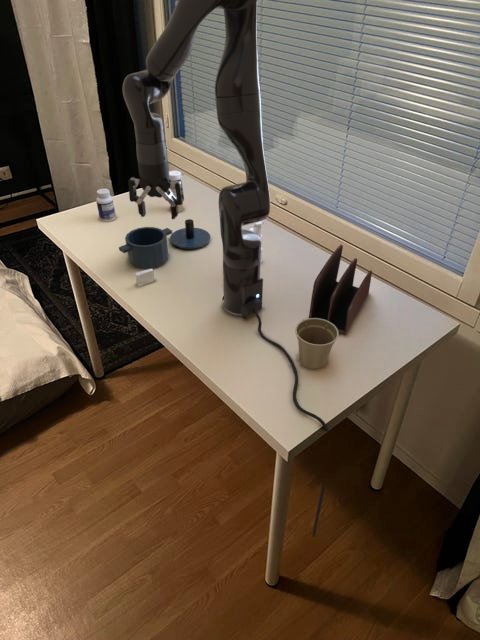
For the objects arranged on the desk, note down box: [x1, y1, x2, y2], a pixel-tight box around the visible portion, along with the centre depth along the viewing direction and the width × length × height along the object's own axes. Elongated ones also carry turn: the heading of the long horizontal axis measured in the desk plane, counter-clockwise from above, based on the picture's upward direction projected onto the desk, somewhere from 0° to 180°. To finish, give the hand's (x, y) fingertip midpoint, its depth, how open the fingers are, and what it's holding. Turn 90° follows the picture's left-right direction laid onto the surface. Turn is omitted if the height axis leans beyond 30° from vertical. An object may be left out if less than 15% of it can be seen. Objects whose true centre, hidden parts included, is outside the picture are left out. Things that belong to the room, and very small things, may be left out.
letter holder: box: [308, 244, 373, 336], centre depth 124 cm, size 10×20×14 cm, turn 152°
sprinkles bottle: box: [169, 170, 185, 213], centre depth 169 cm, size 5×5×14 cm
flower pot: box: [294, 317, 340, 370], centre depth 111 cm, size 9×9×9 cm
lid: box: [169, 218, 211, 250], centre depth 154 cm, size 13×13×7 cm
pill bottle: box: [95, 187, 116, 222], centre depth 165 cm, size 5×5×10 cm
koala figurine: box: [247, 220, 265, 263], centre depth 143 cm, size 8×7×12 cm
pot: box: [118, 226, 173, 270], centre depth 145 cm, size 12×17×7 cm
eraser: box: [134, 268, 155, 287], centre depth 137 cm, size 1×5×4 cm, turn 122°
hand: (158, 216), depth 135 cm, fingers open, 8 cm apart
